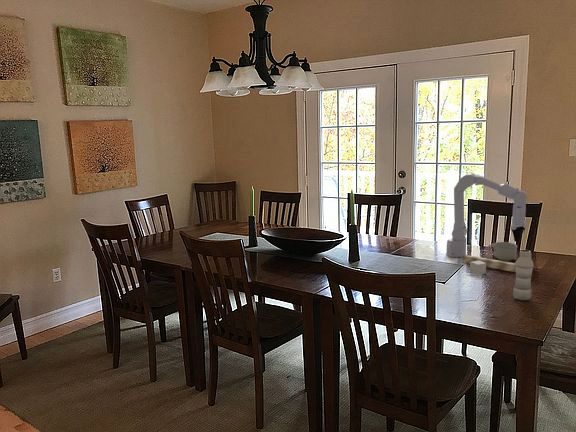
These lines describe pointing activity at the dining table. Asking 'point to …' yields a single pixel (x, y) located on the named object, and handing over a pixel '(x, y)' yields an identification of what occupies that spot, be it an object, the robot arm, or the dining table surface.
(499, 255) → the teacup
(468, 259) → the bar
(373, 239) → the dining table surface
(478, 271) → the grey block
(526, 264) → the plastic bottle
